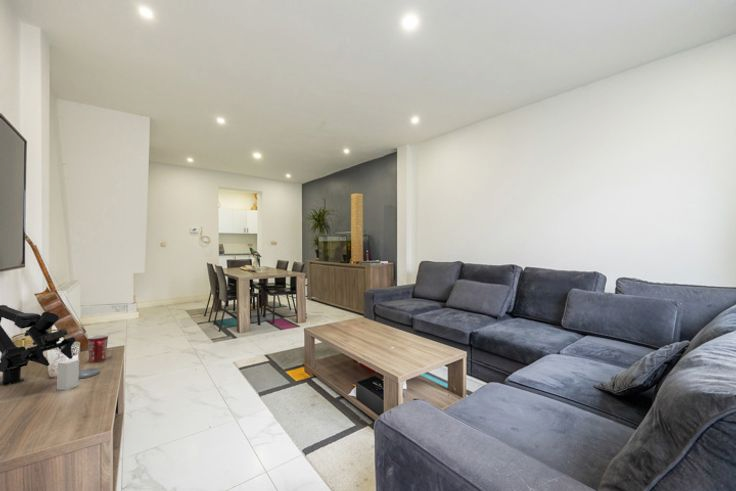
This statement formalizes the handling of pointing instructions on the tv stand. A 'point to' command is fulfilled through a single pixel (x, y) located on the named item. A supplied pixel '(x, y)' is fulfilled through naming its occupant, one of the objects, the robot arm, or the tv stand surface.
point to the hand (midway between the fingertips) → (60, 361)
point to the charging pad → (88, 373)
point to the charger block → (67, 374)
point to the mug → (97, 347)
